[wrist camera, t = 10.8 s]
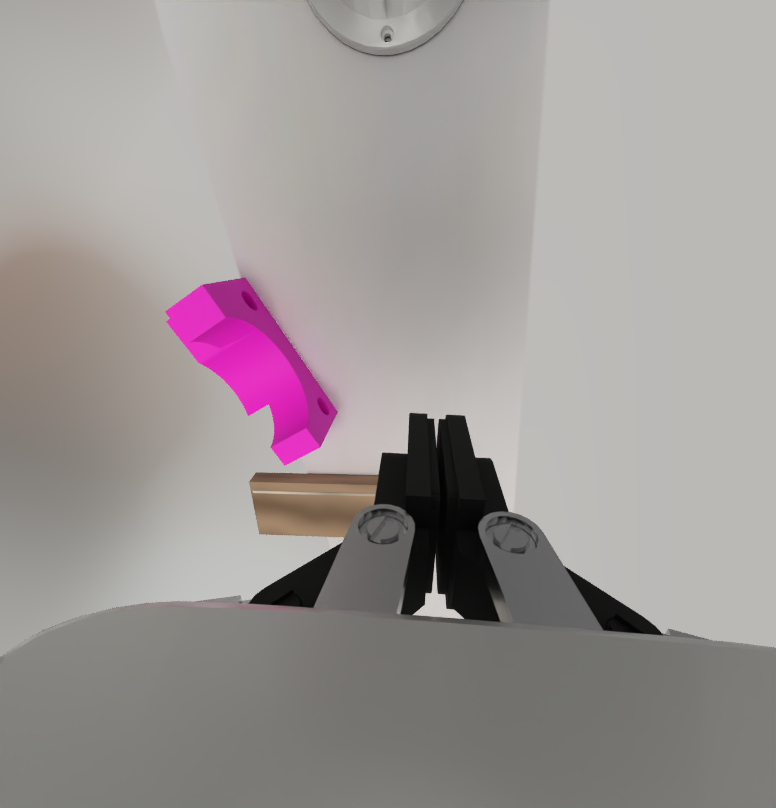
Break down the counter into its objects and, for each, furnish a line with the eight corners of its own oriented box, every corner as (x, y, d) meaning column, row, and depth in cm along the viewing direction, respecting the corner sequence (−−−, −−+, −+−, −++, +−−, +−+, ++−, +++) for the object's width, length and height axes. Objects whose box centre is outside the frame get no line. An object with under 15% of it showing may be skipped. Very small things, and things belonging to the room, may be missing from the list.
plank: (256, 472, 42) (248, 482, 40) (419, 476, 40) (419, 486, 38) (265, 523, 44) (259, 534, 43) (418, 528, 43) (418, 540, 41)
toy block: (195, 313, 35) (141, 328, 29) (246, 277, 34) (202, 284, 27) (289, 437, 40) (262, 477, 33) (337, 411, 38) (320, 447, 31)
